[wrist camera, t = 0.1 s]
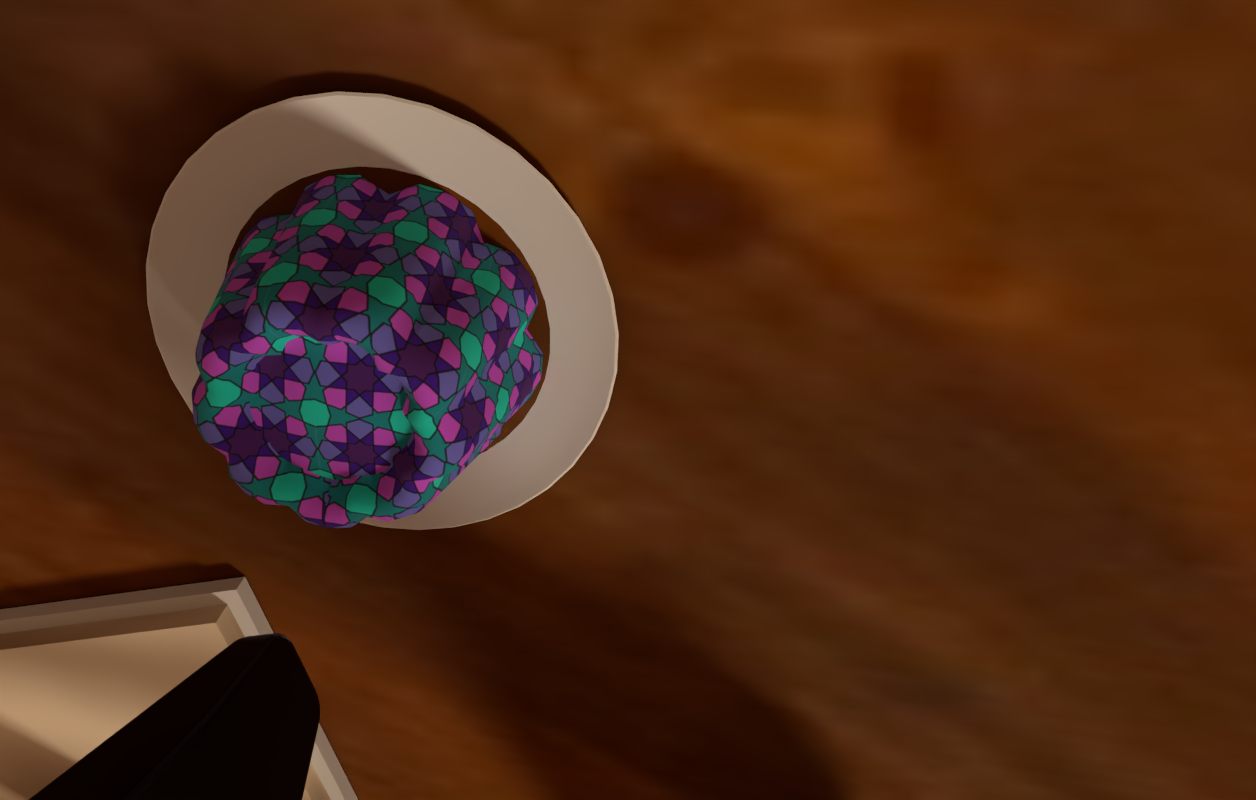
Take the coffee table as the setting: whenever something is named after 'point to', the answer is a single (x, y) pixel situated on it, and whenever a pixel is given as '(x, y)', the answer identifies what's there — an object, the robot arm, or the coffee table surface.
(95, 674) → the lid
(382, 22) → the coffee table surface
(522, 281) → the purple round dome
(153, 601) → the mat
